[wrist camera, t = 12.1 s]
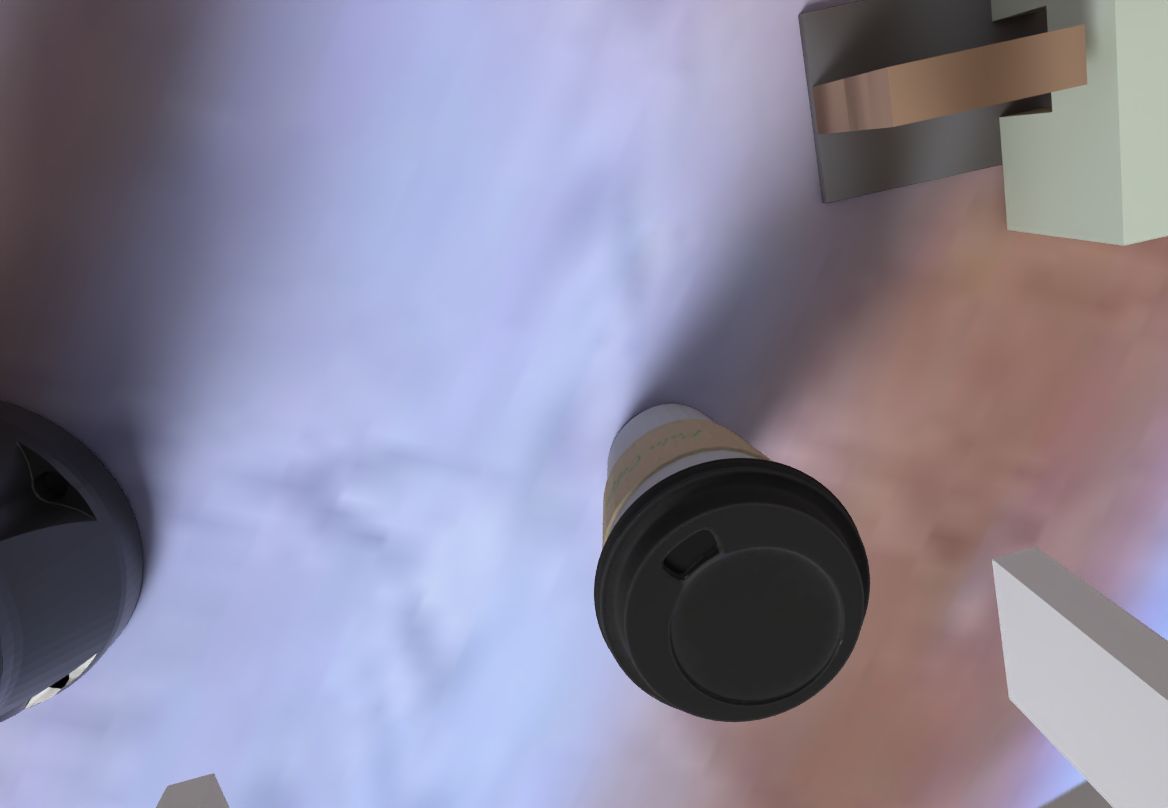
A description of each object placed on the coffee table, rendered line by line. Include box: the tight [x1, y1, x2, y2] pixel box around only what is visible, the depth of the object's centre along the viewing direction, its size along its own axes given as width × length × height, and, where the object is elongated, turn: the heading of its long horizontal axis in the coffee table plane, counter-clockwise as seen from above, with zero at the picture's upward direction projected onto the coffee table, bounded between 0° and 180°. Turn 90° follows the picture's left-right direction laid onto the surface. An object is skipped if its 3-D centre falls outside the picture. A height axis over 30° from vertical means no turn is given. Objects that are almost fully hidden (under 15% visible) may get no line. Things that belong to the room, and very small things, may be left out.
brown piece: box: [798, 0, 1087, 203], centre depth 34 cm, size 18×8×9 cm, turn 102°
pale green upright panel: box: [991, 0, 1168, 245], centre depth 34 cm, size 14×2×8 cm, turn 12°
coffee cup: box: [594, 403, 870, 722], centre depth 35 cm, size 9×9×15 cm
